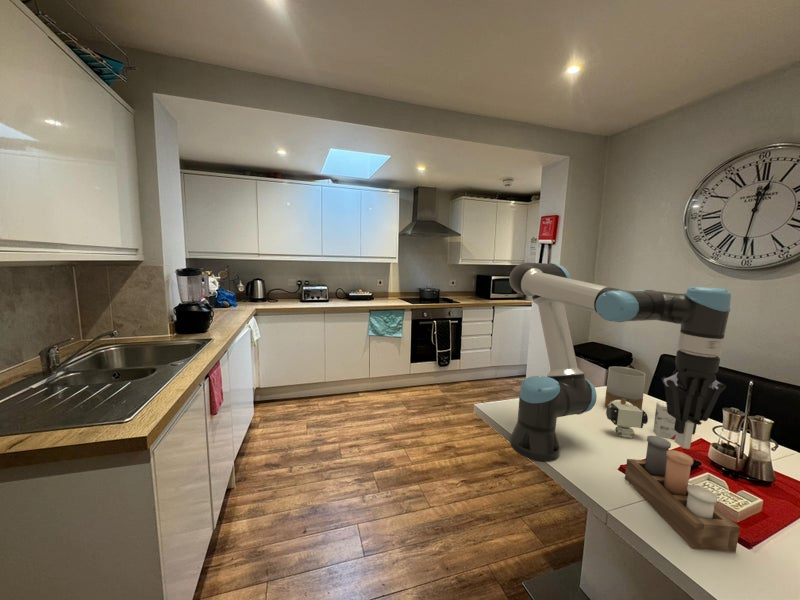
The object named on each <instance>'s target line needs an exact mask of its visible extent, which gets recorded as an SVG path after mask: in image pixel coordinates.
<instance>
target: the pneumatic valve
mask: <svg viewBox="0 0 800 600" xmlns="http://www.w3.org/2000/svg"><path fill="white" fill-rule="evenodd" d="M605 415H606V418H607V420H609V421H610V422H612V424H613V425H614V426H615V428H614V431H615V433H616V434H617V435H619V437H621V438H625V439H626V438H627V439H632V438H633V436H634V435H635V430H634V429H633V428H637V429H643V427H644V426H645V425H647V424H648V422H649V417H648V414H647V412H646V411H645V410H643V408H642V409H640V408H639V407H638V406H633V405H632V404H631V405H630V404H628V403H626V404H624V405H622V404H620V403H612V402H611V403H610V405H609V406H608V408H606V411H605Z"/></svg>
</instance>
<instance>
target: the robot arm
mask: <svg viewBox="0 0 800 600" xmlns="http://www.w3.org/2000/svg"><path fill="white" fill-rule="evenodd" d="M508 279H509V286H510V287H511V289H512V290H513V291H514V292H516V293H517V294H520V295H524V296H528V297H531V299H532V303H534V304H536V305H537V306H538V312H539V316H540V317H539V318H540V322H541V323H540V324H541V326H542V332H543V337H544V342H545V347H546V352H547V358H548V359H547V360H548V363H549V364H548V365H549V368H550V371H549V372H548V373H547V375H546V376H544V375H542V376H539V375H534V376H533V375H531V376H528V377H525V378H524V379H523V380H522V381H521V383H520V389H519V392H518V394H519V395H518V397H519V399H518V413H517V422H516V424H515V426H514V428H513V430H512V433H511V435H510V441H509V442H510V447H511V448H512V449H513V450H514V451H515V452H516V453H517V454H519V455H521V456H523V457H524V458H527V459H530V460H533V461H537V462H552V461H555V460H557V459H559V457H560V452H561V451H560V450H561V449H560V444H559V443H560V442H559V439H558V435H557V432H556V427H557V426H556V425H557V418H562V417H566V416H567V417H568V416H573V415H581V414H584V413H587V412H589V411H592V409H593V408H594V407H595V404H596V403H597V398H598V397H597V396H598V395H597V391H596V388H595V385H594V384H593V383H591V381H590V380H589V379H587V378H586V376H585V373H584V372H583V370H581V369H580V368H579V367H578V363H577V358H576V353H575V349H574V345H573V340H572V335H571V330H570V326H569V321H568V317H567V312H566V308H565V307H566V306H565V305H567V306H571V307H575V308H578V309H580V310H584V311H588V312H591V313H595V314H598V315H599V316H600V318H601V319H603V320H605V321H608V322H614V323H624V322H625V323H626V322H638V321H660V322H666V323H673V324H678V325H680V331H679V336H678V342H677V348H678V350H677V351H676V355H675V359H674V360H675V361H674V364H675V369H674V370H673V372H672V375H671V376H669V377H666V376H662V377H661V382H662V384H663V385H664V391H665V392H664V393H665V401H666V402H665V403H666V404H667V413H668V414H669V415H671V416H673V417H674V418H676V420H675V426H674V430H675V431H676V436H675V440H674V443H675V444H677V445H678V446H679V447H680V448H682V449H687V450H689V449H691V443H692V439H693V438H692V437H693V435H695V434H696V430H697V425H698V426H700V425H702V424H703V422H708V419H710V416H711V414H712V412H713V410H714V408H715V405H716V403H717V401H718V399H719V396H721V393H722V392H724V390H726V388H727V386H726V384H724V383H722V382H719V381H718V380H717V376H716V374H717V373H718V371H719V367H720V362H721V358H720V357H719V356H720V355H722V350H723V345H724V340H725V333H726V329H727V323H728V319H729V314H730V312H731V299H732V293H731V291H730V290H728V289H727V288H719V287H704V286H689V287H688V288H687V289H686V292H685V293H675V292H670V291H669V292H668V291H667V292H666V291H661V290H653V289H637V290H632V291H631V290H624V289H619V288H614V287H610V286H606V285H601V284H596V283H591V282H586V281H583V280H578V279H573V278H571V274H570V273H569V271H568V270H567V268H565V266H563V265H560V264H555V263H551V262H549V263H548V262H547V263H543V262H542V263H541V262H523V263H520V264H518V265H516V266H515V267H513V269H512V270H511V271H510V274H509V278H508ZM702 421H703V422H702Z"/></svg>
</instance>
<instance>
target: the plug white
mask: <svg viewBox="0 0 800 600" xmlns="http://www.w3.org/2000/svg"><path fill="white" fill-rule="evenodd" d="M687 492H688V498H687V505H686V508H687V509H688V510H690V511H691V512H692V513H693V514H694V515H695V516H696V517H697V518H709V519H712V518H713V511H714V506H715V504H717V503H718V496H717V494H715V493H714V492H713V491H712V490H710V489H708V488H706V487H703V486H701V485H697V484H688V486H687Z"/></svg>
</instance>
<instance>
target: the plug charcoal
mask: <svg viewBox="0 0 800 600" xmlns="http://www.w3.org/2000/svg"><path fill="white" fill-rule="evenodd" d="M646 442H647V447H646V455H645V460H646V461H645V470H646V471H647V472H648V473H649V474H650V475H651V476H660V477H665V472H666V465H667V458H668V457H667V456H666V453H667V451H668V450H670V449H671V448H672V447H671V446H672V443H671V442H670V441H669V440H668V439H667V438H664V437H660V436H657V435H647V437H646Z"/></svg>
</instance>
